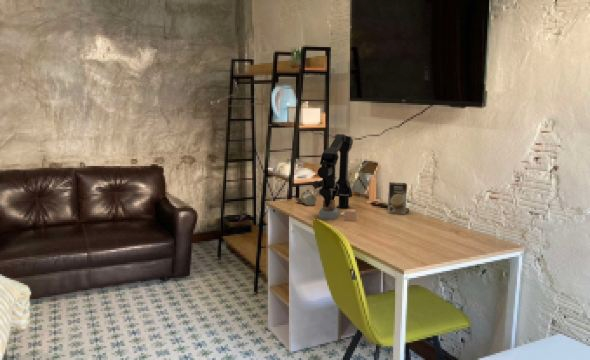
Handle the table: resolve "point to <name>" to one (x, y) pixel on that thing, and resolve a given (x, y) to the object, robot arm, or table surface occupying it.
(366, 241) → the table surface
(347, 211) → the terracotta cube
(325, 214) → the grey block
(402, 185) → the coffee box
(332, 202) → the walnut cube
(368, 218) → the table surface
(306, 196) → the ceramic sculpture
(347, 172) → the robot arm
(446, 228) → the table surface
